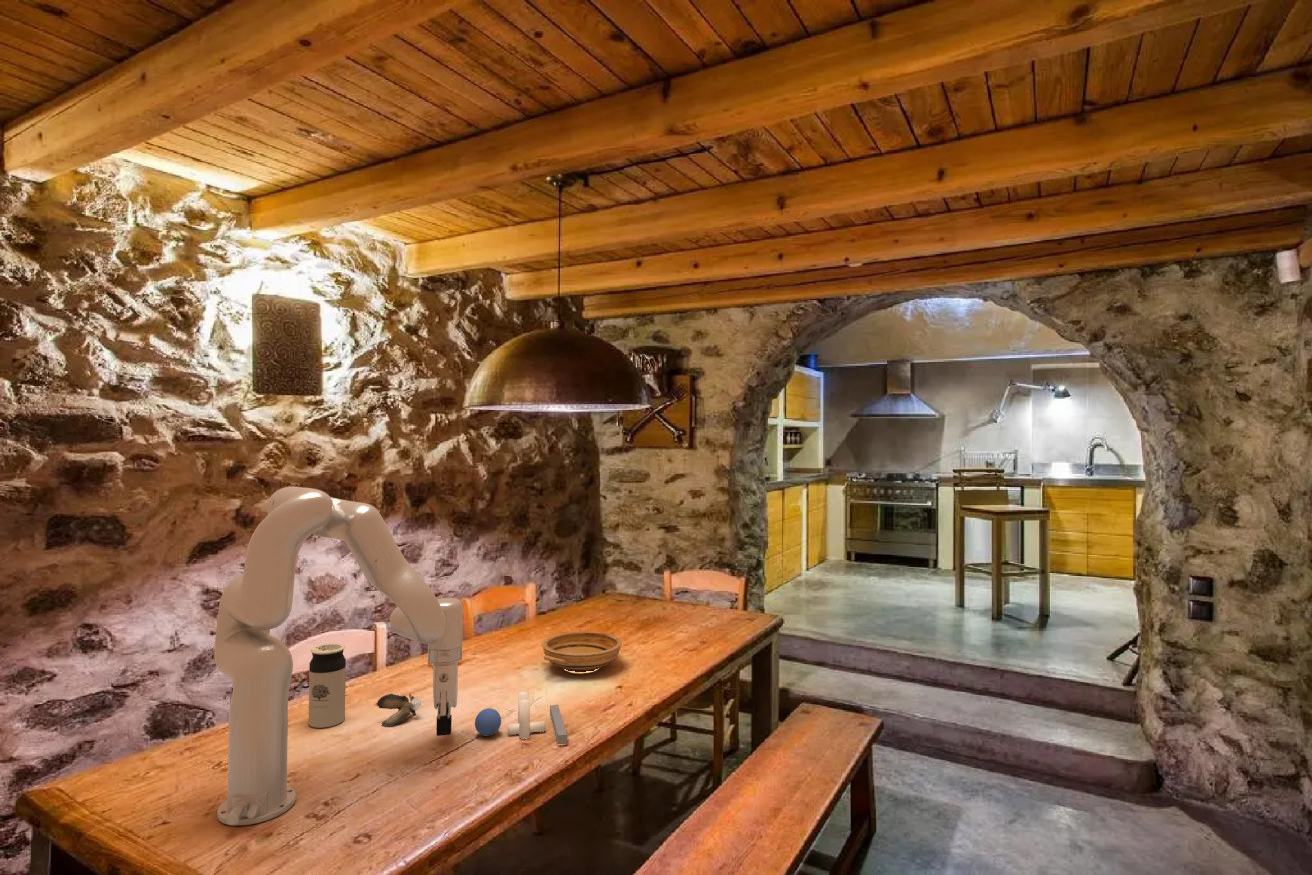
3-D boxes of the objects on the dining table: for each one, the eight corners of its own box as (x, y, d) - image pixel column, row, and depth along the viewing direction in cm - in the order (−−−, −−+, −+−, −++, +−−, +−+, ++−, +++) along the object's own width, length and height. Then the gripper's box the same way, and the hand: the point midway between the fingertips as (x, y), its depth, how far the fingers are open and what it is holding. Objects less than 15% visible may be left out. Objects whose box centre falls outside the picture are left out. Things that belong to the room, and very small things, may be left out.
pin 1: (528, 730, 162) (529, 694, 162) (518, 731, 161) (518, 695, 161) (527, 726, 164) (528, 690, 164) (517, 726, 163) (518, 691, 163)
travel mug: (325, 713, 170) (326, 641, 170) (352, 717, 168) (353, 644, 168) (300, 726, 162) (301, 651, 162) (328, 730, 160) (330, 654, 160)
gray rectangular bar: (566, 745, 154) (566, 734, 154) (557, 746, 153) (557, 735, 153) (557, 714, 171) (558, 704, 171) (549, 715, 170) (550, 705, 170)
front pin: (508, 737, 158) (545, 733, 160) (508, 727, 158) (545, 723, 160) (507, 732, 160) (544, 728, 162) (508, 722, 160) (544, 719, 162)
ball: (487, 706, 156) (469, 729, 154) (507, 722, 157) (490, 744, 155) (485, 700, 162) (468, 722, 160) (505, 715, 163) (488, 736, 161)
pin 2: (530, 739, 157) (530, 702, 157) (519, 740, 156) (519, 702, 156) (529, 734, 159) (529, 698, 159) (518, 735, 158) (519, 699, 158)
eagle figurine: (403, 705, 173) (370, 709, 166) (416, 684, 172) (384, 687, 165) (415, 728, 169) (382, 733, 162) (428, 707, 167) (396, 711, 160)
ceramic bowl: (583, 649, 226) (584, 625, 226) (642, 663, 212) (642, 637, 212) (517, 673, 201) (518, 646, 201) (579, 691, 188) (579, 661, 188)
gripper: (461, 662, 149) (460, 746, 149) (462, 643, 164) (461, 719, 164) (425, 665, 147) (424, 750, 147) (430, 645, 162) (429, 722, 162)
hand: (443, 733), depth 155 cm, fingers closed
